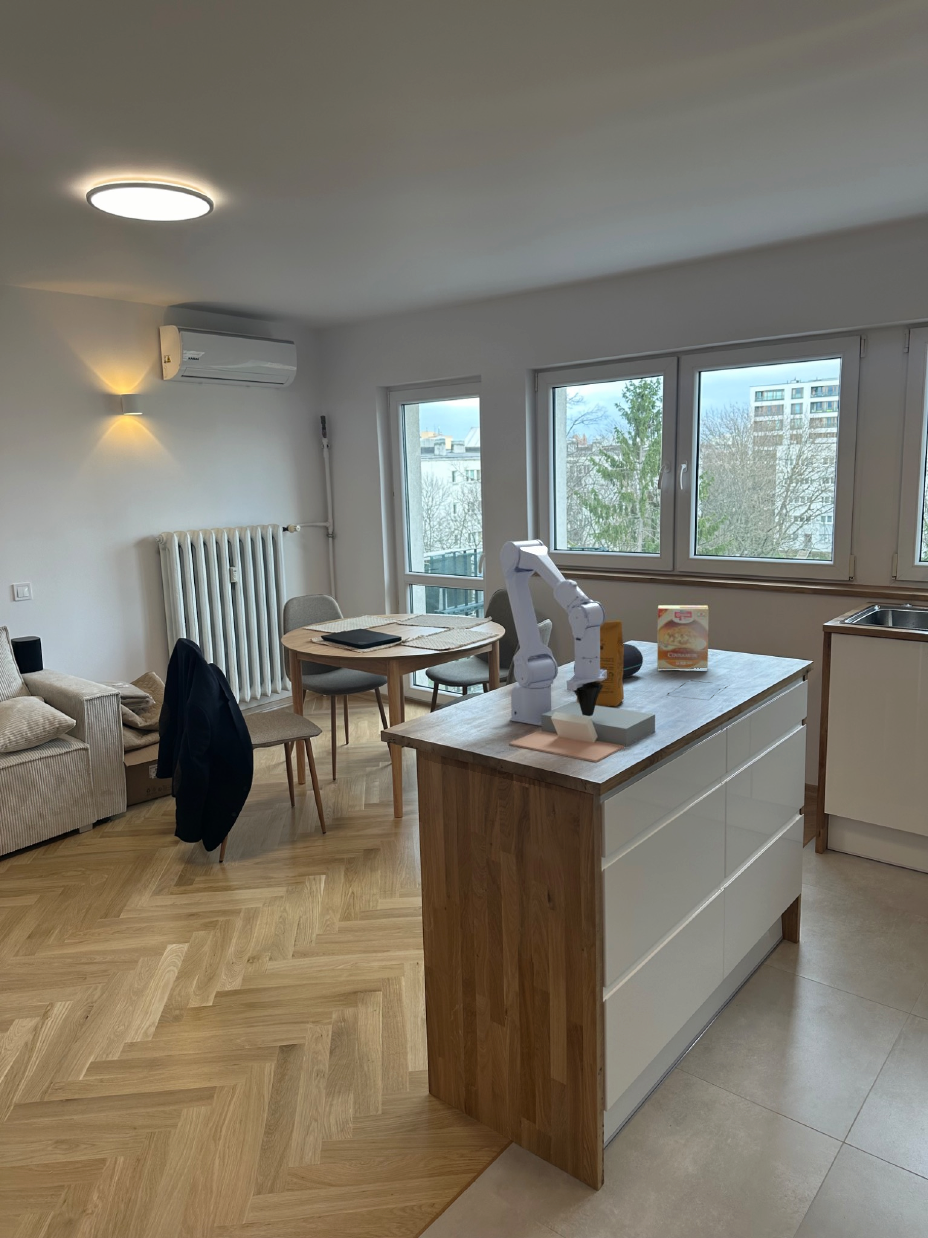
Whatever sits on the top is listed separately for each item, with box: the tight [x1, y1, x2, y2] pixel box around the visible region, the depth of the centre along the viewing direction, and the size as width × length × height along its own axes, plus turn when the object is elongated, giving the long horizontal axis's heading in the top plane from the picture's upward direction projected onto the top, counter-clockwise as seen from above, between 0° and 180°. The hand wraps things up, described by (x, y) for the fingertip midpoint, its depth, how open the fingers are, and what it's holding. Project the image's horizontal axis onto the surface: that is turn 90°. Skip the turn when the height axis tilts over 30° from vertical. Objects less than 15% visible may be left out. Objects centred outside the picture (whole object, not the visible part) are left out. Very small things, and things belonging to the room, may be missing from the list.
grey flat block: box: [540, 701, 656, 747], centre depth 196 cm, size 22×14×4 cm, turn 52°
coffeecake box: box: [656, 604, 710, 670], centre depth 259 cm, size 15×7×20 cm, turn 77°
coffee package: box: [576, 620, 625, 707], centre depth 222 cm, size 10×12×22 cm
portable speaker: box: [573, 643, 644, 679], centre depth 246 cm, size 25×10×10 cm, turn 135°
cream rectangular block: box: [551, 712, 598, 743], centre depth 188 cm, size 9×6×2 cm
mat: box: [508, 730, 625, 763], centre depth 186 cm, size 22×12×1 cm, turn 52°
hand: (587, 715), depth 192 cm, fingers closed
